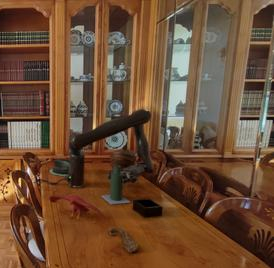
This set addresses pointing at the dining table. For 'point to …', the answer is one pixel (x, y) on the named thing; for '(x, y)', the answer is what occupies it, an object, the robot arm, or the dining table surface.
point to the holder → (147, 207)
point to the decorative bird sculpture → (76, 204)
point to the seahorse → (125, 239)
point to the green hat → (60, 167)
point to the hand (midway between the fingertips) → (115, 179)
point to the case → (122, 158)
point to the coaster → (112, 202)
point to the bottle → (116, 184)
